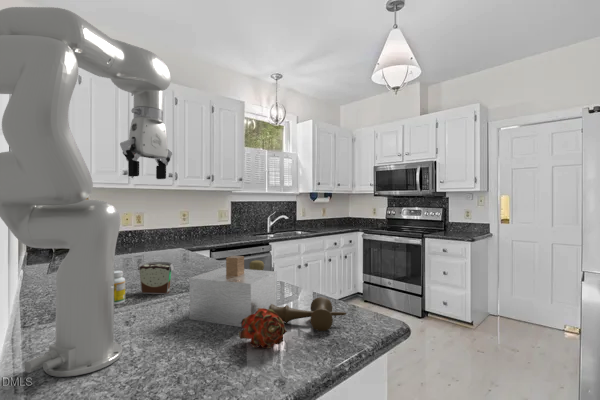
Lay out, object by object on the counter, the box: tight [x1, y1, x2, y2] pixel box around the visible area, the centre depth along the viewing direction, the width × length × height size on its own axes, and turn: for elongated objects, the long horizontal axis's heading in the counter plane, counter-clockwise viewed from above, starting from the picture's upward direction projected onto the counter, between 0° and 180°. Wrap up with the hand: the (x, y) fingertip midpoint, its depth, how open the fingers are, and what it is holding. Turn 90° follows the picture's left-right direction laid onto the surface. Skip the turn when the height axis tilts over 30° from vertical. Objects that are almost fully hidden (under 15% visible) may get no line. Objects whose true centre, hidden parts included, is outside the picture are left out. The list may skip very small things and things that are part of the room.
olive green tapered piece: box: [248, 259, 265, 271], centre depth 113 cm, size 6×6×11 cm
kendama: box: [269, 296, 347, 332], centre depth 83 cm, size 6×10×20 cm
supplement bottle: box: [114, 270, 126, 306], centre depth 101 cm, size 5×5×10 cm
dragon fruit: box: [238, 308, 288, 349], centre depth 71 cm, size 8×8×12 cm
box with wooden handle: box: [189, 255, 278, 328], centre depth 90 cm, size 16×19×16 cm
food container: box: [137, 261, 174, 295], centre depth 114 cm, size 12×6×10 cm, turn 84°
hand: (148, 177), depth 91 cm, fingers open, 9 cm apart
